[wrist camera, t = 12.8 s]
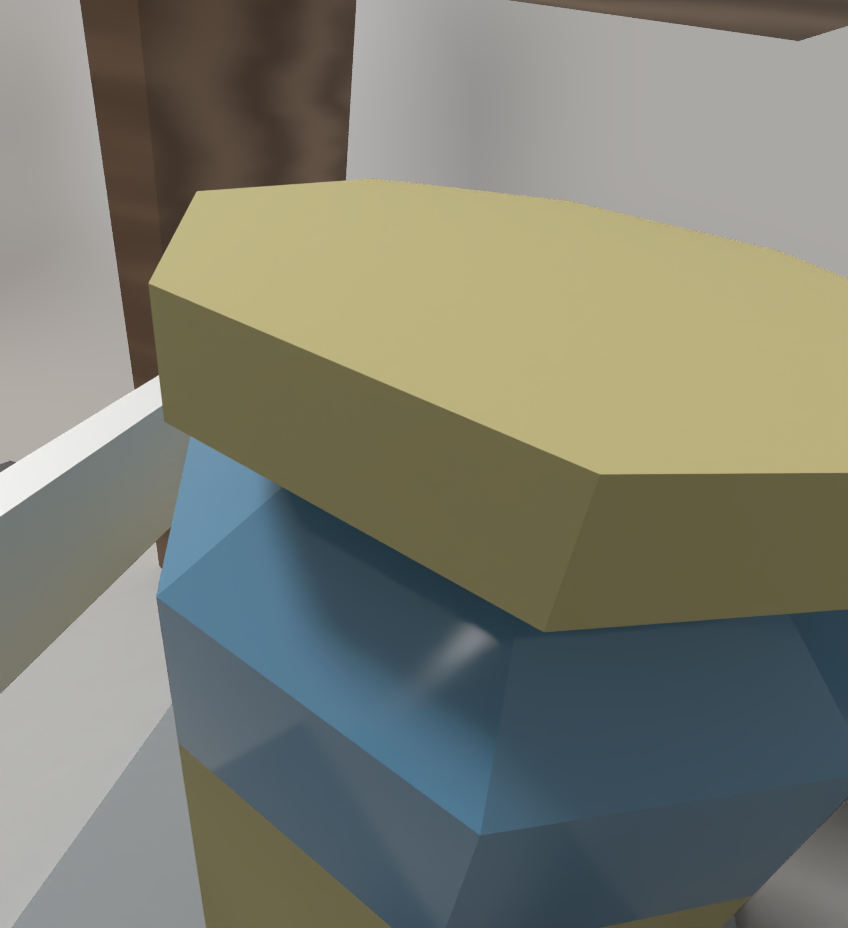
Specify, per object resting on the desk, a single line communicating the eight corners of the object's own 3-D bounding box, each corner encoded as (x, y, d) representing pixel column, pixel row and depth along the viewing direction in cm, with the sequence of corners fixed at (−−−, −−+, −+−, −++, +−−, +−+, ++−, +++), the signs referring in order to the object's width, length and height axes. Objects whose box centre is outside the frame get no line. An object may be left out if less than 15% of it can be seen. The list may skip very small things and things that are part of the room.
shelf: (307, 411, 35) (323, -76, 23) (623, 490, 32) (819, -12, 21) (159, 566, 23) (44, -251, 12) (634, 709, 21) (1091, -155, 9)
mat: (260, 596, 23) (260, 581, 22) (693, 727, 20) (702, 712, 20) (-224, 1293, 9) (-248, 1287, 9) (856, 1878, 7) (893, 1911, 7)
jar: (588, 759, 18) (843, 247, 10) (611, 1251, 10) (1812, 767, 2) (296, 685, 19) (312, 153, 11) (117, 1093, 11) (-303, 305, 3)
